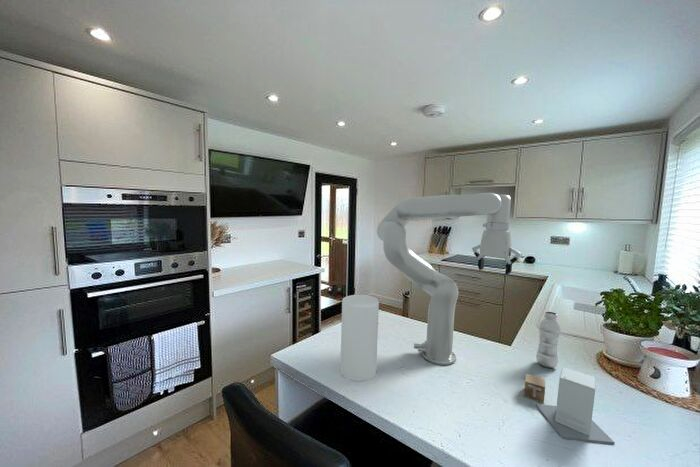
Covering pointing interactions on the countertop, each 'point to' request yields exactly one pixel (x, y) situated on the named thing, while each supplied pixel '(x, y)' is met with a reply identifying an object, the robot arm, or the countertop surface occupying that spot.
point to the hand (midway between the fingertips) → (493, 271)
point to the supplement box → (575, 400)
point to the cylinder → (359, 337)
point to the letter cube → (534, 388)
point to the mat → (570, 433)
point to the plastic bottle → (548, 340)
